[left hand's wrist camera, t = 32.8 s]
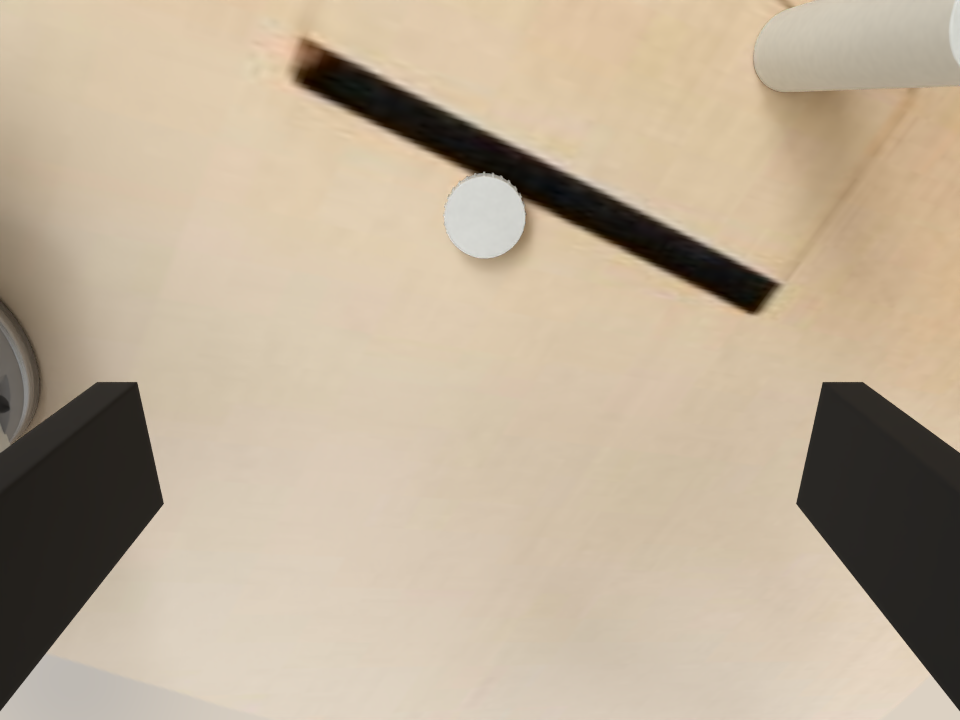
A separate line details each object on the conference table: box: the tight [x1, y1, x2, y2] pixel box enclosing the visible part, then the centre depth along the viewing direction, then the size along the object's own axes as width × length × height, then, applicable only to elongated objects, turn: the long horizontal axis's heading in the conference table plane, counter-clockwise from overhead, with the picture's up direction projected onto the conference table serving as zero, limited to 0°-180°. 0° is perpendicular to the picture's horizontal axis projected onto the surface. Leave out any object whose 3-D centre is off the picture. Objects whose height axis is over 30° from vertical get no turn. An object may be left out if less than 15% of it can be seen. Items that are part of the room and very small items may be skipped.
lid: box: [443, 172, 526, 258], centre depth 38 cm, size 5×5×2 cm
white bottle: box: [753, 0, 960, 92], centre depth 27 cm, size 4×4×18 cm
